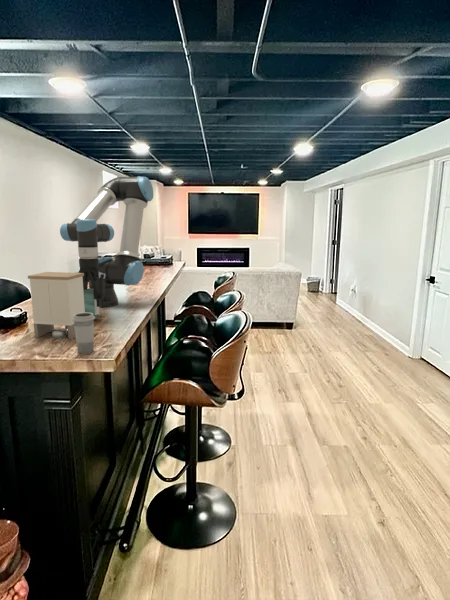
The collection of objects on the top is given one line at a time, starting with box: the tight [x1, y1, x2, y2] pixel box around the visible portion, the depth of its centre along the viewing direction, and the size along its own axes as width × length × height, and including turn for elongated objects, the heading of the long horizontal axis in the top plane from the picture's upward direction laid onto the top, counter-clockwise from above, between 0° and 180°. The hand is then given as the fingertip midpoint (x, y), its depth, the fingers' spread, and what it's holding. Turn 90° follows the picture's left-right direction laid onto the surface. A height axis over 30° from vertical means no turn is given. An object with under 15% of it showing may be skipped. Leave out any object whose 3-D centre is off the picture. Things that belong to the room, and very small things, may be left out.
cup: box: [72, 312, 95, 355], centre depth 122 cm, size 7×7×12 cm
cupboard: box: [27, 271, 85, 340], centre depth 139 cm, size 11×15×22 cm
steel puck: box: [51, 327, 68, 340], centre depth 139 cm, size 5×5×2 cm
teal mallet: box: [64, 287, 100, 330], centre depth 153 cm, size 20×4×12 cm, turn 172°
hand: (91, 313), depth 162 cm, fingers closed on teal mallet, 4 cm apart
